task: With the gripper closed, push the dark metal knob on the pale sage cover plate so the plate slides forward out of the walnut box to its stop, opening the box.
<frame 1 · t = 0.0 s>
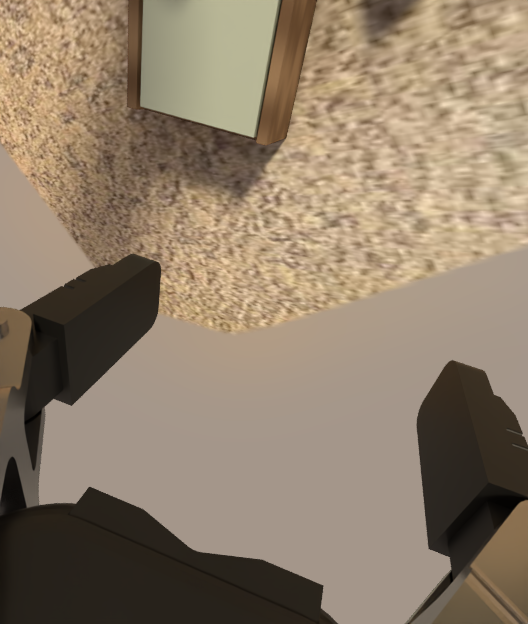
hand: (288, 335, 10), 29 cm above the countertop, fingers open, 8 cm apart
walnut box: (241, 17, 32), on the countertop
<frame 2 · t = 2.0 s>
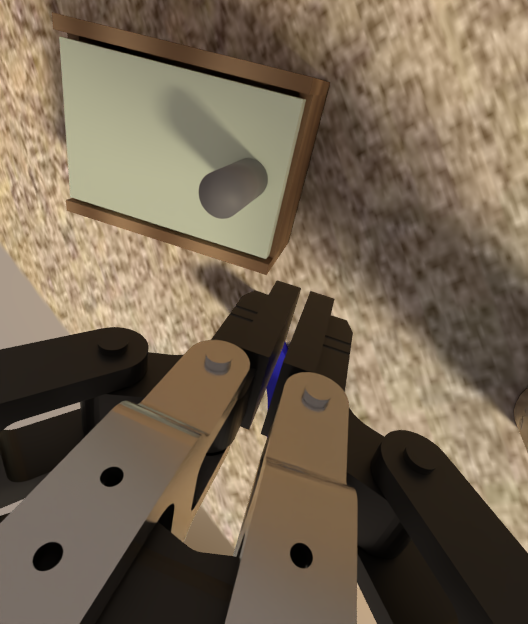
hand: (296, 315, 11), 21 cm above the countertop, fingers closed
cover plate: (153, 159, 23), point 9 cm above the countertop, slide at 0.0 cm
blue curved stepped block: (283, 351, 39), on the countertop
walnut box: (212, 144, 30), on the countertop
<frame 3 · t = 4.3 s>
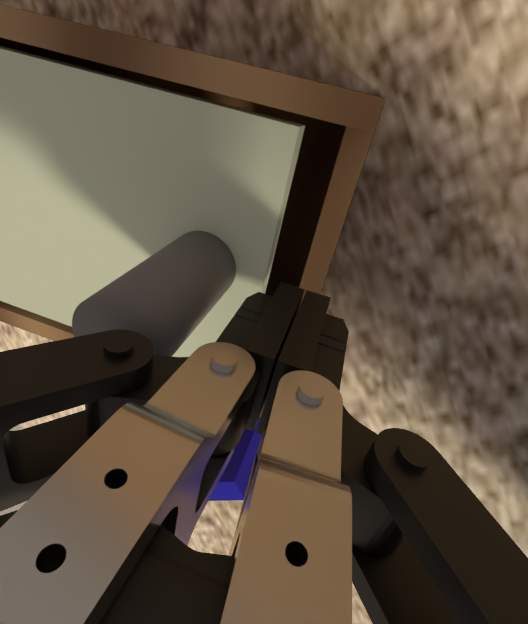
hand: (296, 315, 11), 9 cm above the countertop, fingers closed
cover plate: (18, 237, 12), point 9 cm above the countertop, slide at 1.6 cm, touching gripper
blue curved stepped block: (286, 466, 28), on the countertop
walnut box: (190, 192, 19), on the countertop
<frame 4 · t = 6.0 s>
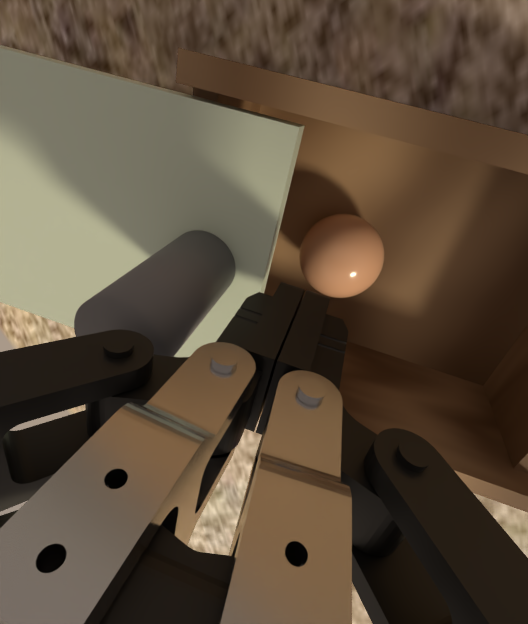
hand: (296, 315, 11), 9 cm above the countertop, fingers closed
cover plate: (17, 237, 12), point 9 cm above the countertop, slide at 12.1 cm, touching gripper
walnut box: (385, 249, 18), on the countertop
clay ball: (344, 243, 18), point 1 cm above the countertop, touching walnut box
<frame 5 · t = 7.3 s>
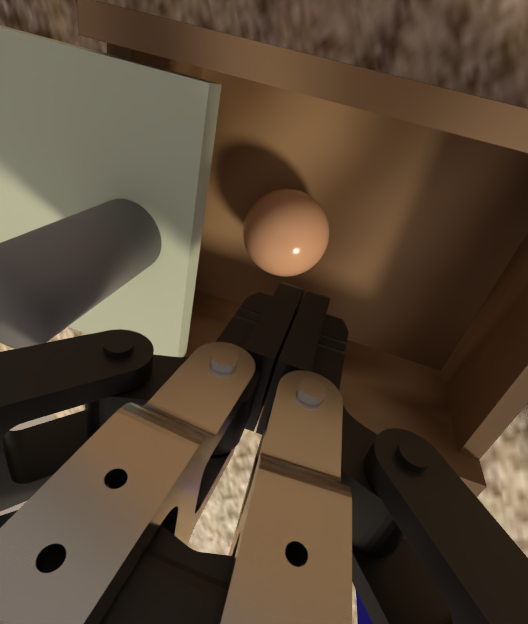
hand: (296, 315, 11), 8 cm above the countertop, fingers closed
walnut box: (337, 229, 18), on the countertop
clay ball: (294, 221, 17), point 1 cm above the countertop, touching walnut box
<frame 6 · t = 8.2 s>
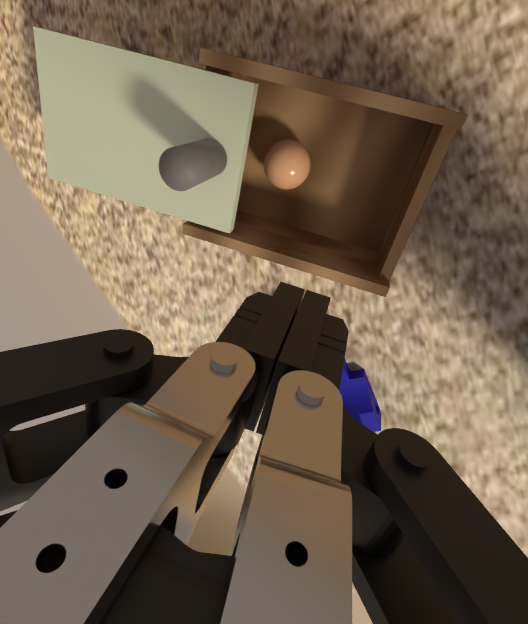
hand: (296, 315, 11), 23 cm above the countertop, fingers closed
cover plate: (120, 139, 25), point 9 cm above the countertop, slide at 12.0 cm
blue curved stepped block: (343, 370, 41), on the countertop
walnut box: (316, 166, 31), on the countertop
clay ball: (291, 161, 30), point 1 cm above the countertop, touching walnut box
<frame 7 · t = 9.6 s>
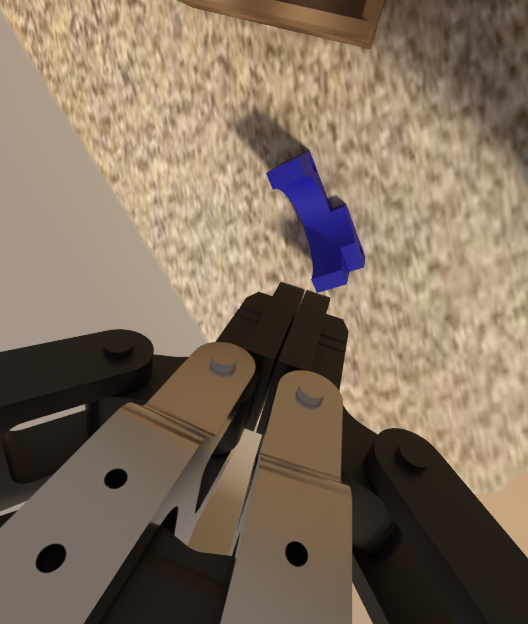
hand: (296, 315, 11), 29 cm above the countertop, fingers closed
blue curved stepped block: (325, 210, 39), on the countertop
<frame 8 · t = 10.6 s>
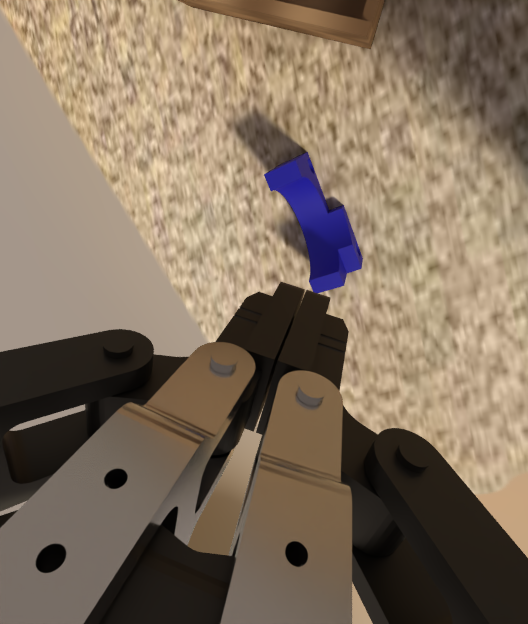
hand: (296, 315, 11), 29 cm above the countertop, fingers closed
blue curved stepped block: (322, 212, 39), on the countertop
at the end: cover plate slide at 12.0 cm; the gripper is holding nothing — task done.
